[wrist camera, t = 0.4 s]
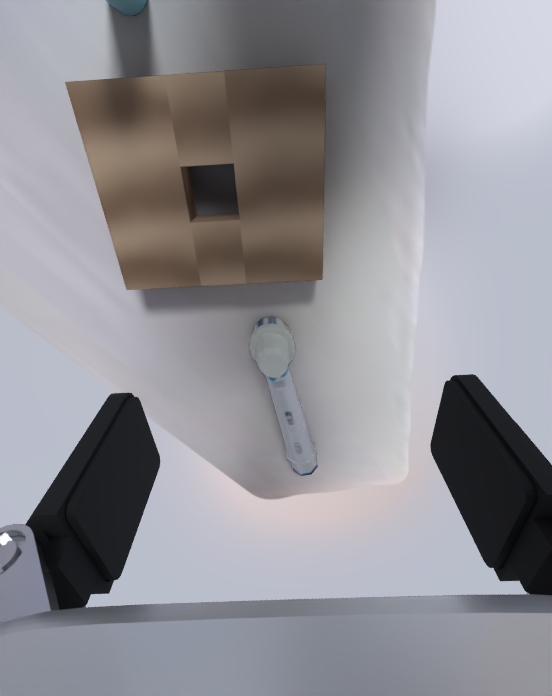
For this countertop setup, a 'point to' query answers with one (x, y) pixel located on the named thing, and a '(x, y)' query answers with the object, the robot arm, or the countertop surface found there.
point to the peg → (128, 6)
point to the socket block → (209, 173)
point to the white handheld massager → (283, 390)
